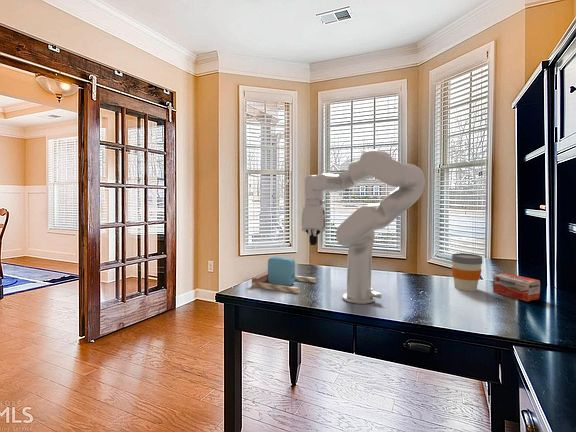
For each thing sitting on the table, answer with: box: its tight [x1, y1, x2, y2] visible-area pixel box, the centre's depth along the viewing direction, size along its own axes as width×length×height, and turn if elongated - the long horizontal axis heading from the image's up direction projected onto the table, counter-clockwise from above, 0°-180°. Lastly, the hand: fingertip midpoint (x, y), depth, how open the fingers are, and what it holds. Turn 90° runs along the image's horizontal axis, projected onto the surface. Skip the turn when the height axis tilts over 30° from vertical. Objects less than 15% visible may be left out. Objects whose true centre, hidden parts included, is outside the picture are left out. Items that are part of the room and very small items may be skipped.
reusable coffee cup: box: [451, 252, 483, 292], centre depth 162 cm, size 13×13×15 cm
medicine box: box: [492, 272, 541, 302], centre depth 152 cm, size 15×8×8 cm, turn 24°
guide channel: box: [251, 270, 317, 294], centre depth 166 cm, size 23×21×4 cm
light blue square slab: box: [267, 256, 296, 286], centre depth 167 cm, size 12×4×12 cm, turn 64°
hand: (313, 244), depth 159 cm, fingers closed
